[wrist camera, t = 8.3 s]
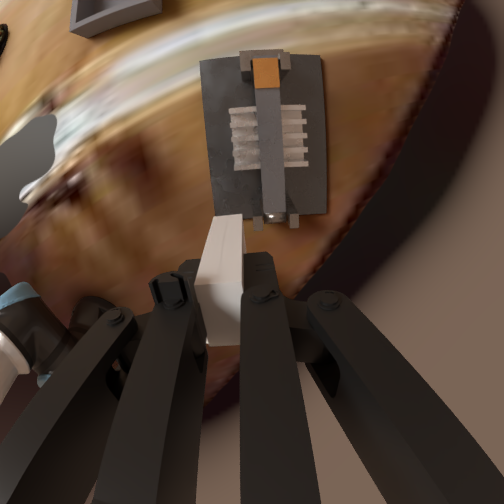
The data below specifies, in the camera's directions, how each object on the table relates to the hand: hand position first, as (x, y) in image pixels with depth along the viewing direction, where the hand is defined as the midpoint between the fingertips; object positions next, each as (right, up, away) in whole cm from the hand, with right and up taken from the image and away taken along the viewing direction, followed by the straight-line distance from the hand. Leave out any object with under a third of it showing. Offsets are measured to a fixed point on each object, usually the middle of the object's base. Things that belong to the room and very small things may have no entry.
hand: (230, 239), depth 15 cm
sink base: (+3, +17, +24) cm, 30 cm away
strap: (+3, +14, +19) cm, 23 cm away
